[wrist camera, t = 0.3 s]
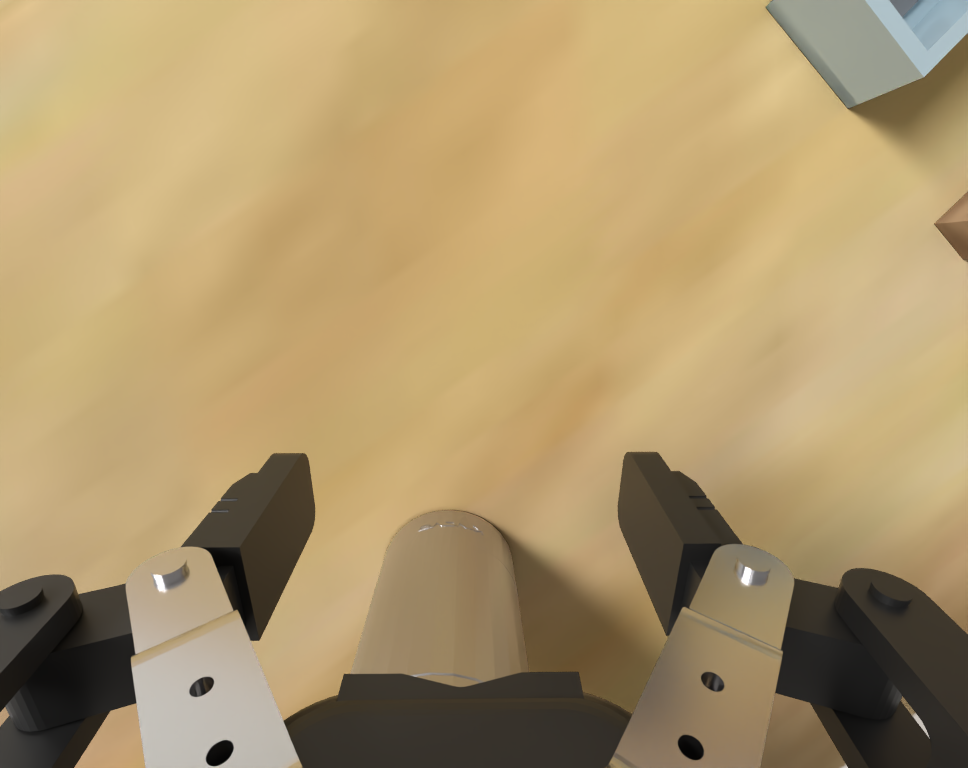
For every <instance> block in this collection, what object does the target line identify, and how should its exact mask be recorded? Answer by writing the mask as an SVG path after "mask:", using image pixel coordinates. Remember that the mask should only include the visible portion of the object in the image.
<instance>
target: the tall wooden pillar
mask: <svg viewBox="0 0 968 768" xmlns="http://www.w3.org/2000/svg"><path fill="white" fill-rule="evenodd" d="M935 225H936V227H937V228H938V229H939V230H940V231H941V233H942V234H943V235H944V236H945V238H946V239H947V240H948V241H949V242H950V244H951V245H952V246H953V247H954V249H955V250H956V251H957V252H958V253H959V255H960V256H961V257H962V258H963V259H968V192H967V193H966V194H965V195H964V196H963V197H962V198H961V199H960V200H959V201H958V202H957V203H956V204H955V205H954V206H952V207H951V208H950V209H949V210H948V211H947V212H946V213H945V214H944V215H943V216H942V217H941V218H940V219H939V220H938V221H937V222H936V223H935Z"/></svg>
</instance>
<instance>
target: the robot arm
mask: <svg viewBox="0 0 968 768" xmlns="http://www.w3.org/2000/svg"><path fill="white" fill-rule="evenodd" d="M618 519H619V525H620V528H621V531H622V533H623V536H624V538H625V540H626V543H627V545H628V547H629V550H630V552H631V554H632V557H633V559H634V561H635V564H636V566H637V568H638V571H639V573H640V575H641V578H642V580H643V582H644V585H645V587H646V589H647V592H648V594H649V596H650V599H651V601H652V603H653V606H654V608H655V610H656V613H657V615H658V617H659V620H660V622H661V624H662V627H663V629H664V631H665V634H666V636H669V637H668V639H667V641H666V644H665V646H664V648H663V650H662V652H661V654H660V657H659V659H658V661H657V663H656V665H655V667H654V669H653V672H652V674H651V676H650V678H649V680H648V682H647V684H646V687H645V689H644V691H643V693H642V695H641V697H640V700H639V702H638V704H637V706H636V708H635V710H634V712H633V715H632V714H631V713H629V712H627V711H626V710H624V709H623V708H621V707H619V706H617V705H615V704H613V703H611V702H609V701H607V700H605V699H602V698H599V697H597V696H594V695H591V694H587V693H583V691H582V686H581V682H580V677H579V672H529V667H528V660H527V653H526V647H525V640H524V633H523V627H522V620H521V613H520V607H519V600H518V592H517V586H516V579H515V573H514V567H513V560H512V554H511V552H510V549H509V546H508V544H507V542H506V541H505V539H504V538H503V536H502V535H501V533H500V532H499V531H498V530H497V529H496V528H495V527H494V526H493V525H492V524H490V523H489V522H487V521H485V520H484V519H482V518H480V517H478V516H476V515H473V514H470V513H467V512H462V511H456V510H442V511H435V512H431V513H427V514H424V515H421V516H419V517H417V518H415V519H413V520H411V521H410V522H409V523H407V524H406V525H404V526H403V527H402V528H401V529H400V530H399V531H398V532H397V533H396V535H395V536H394V537H393V538H392V540H391V542H390V544H389V546H388V548H387V550H386V554H385V557H384V561H383V564H382V567H381V571H380V574H379V578H378V581H377V584H376V587H375V590H374V594H373V597H372V601H371V604H370V608H369V611H368V614H367V618H366V621H365V625H364V628H363V632H362V635H361V639H360V642H359V646H358V649H357V653H356V656H355V659H354V663H353V666H352V670H351V673H350V674H344V676H343V680H342V683H341V687H340V691H339V694H338V695H337V696H333V697H329V698H327V699H324V700H321V701H319V702H316V703H314V704H312V705H310V706H308V707H306V708H304V709H302V710H300V711H298V712H297V713H295V714H293V715H292V716H290V717H289V718H287V719H286V720H284V721H283V719H282V717H281V714H280V712H279V709H278V707H277V704H276V702H275V700H274V697H273V695H272V692H271V690H270V687H269V685H268V682H267V680H266V678H265V675H264V673H263V670H262V668H261V665H260V663H259V660H258V658H257V656H256V653H255V651H254V648H253V646H252V643H251V641H259V640H260V638H261V636H262V634H263V632H264V630H265V628H266V626H267V624H268V622H269V620H270V618H271V615H272V613H273V611H274V609H275V607H276V605H277V603H278V601H279V599H280V597H281V595H282V593H283V590H284V588H285V586H286V584H287V582H288V580H289V578H290V576H291V574H292V572H293V570H294V568H295V565H296V563H297V561H298V559H299V557H300V555H301V553H302V551H303V549H304V547H305V545H306V543H307V540H308V538H309V536H310V534H311V532H312V529H313V526H314V521H315V502H314V495H313V488H312V481H311V474H310V466H309V460H308V457H307V455H306V454H304V453H275V454H272V455H271V456H270V458H269V459H268V460H267V462H266V463H265V464H264V466H263V467H262V468H261V469H260V471H259V472H258V473H250V474H248V475H247V476H245V477H244V478H242V479H241V480H239V481H237V482H236V483H234V484H233V485H232V486H231V487H230V488H229V489H228V490H227V492H226V493H225V494H224V495H223V497H222V498H221V501H218V503H217V504H216V505H215V506H214V507H213V509H212V512H211V513H208V515H207V516H206V517H205V518H204V520H203V521H202V522H201V523H200V524H199V526H198V527H197V528H196V529H195V530H194V532H193V533H192V534H191V535H190V536H189V538H188V539H187V540H186V541H185V542H184V544H183V545H182V546H181V547H180V548H176V549H171V550H168V551H165V552H163V553H160V554H158V555H156V556H154V557H152V558H150V559H148V560H147V561H145V562H144V563H142V564H141V565H139V566H138V567H137V568H136V569H135V570H134V571H133V572H132V573H131V575H130V576H129V578H128V579H127V582H126V584H122V585H118V586H114V587H109V588H105V589H100V590H96V591H91V592H87V593H82V594H78V593H77V590H76V587H75V585H74V582H73V580H72V579H71V578H69V577H67V576H64V575H44V576H39V577H35V578H31V579H28V580H25V581H22V582H19V583H17V584H15V585H12V586H10V587H8V588H6V589H4V590H2V591H0V712H1V711H2V710H3V708H4V707H6V709H7V711H8V713H9V715H10V716H9V717H8V718H7V719H6V721H5V722H4V723H3V724H2V725H1V727H0V768H74V767H75V765H76V764H77V762H78V761H79V759H80V758H81V756H82V754H83V753H84V751H85V750H86V748H87V747H88V745H89V743H90V742H91V740H92V739H93V737H94V736H95V734H96V733H97V731H98V729H99V728H100V726H101V725H102V723H103V722H104V720H105V718H106V717H107V715H108V714H109V712H110V711H111V710H114V709H118V708H121V707H125V706H128V705H132V704H135V703H137V710H138V717H139V724H140V731H141V738H142V746H143V753H144V760H145V767H146V768H760V766H761V761H762V756H763V751H764V746H765V741H766V736H767V731H768V725H769V720H770V715H771V710H772V705H773V700H774V695H775V693H777V694H781V695H785V696H788V697H792V698H795V699H799V700H803V701H806V702H810V704H811V705H812V707H813V709H814V710H815V712H816V714H817V716H818V717H819V719H820V721H821V722H822V724H823V726H824V727H825V729H826V731H827V733H828V734H829V736H830V738H831V739H832V741H833V743H834V744H835V746H836V748H837V749H838V751H839V753H840V755H841V756H842V758H843V760H844V761H845V763H846V765H847V766H848V768H968V634H967V633H966V632H965V631H963V630H962V629H961V628H960V627H959V626H958V625H957V624H956V623H955V622H954V621H953V620H952V619H951V618H950V617H949V616H948V615H947V614H946V613H945V612H944V611H943V610H942V609H941V608H940V607H939V606H938V605H937V604H936V603H934V602H933V601H932V600H931V599H930V598H929V597H928V596H927V595H926V594H925V593H924V592H922V591H921V590H919V589H918V588H917V587H915V586H913V585H912V584H910V583H908V582H906V581H904V580H903V579H900V578H898V577H896V576H894V575H891V574H888V573H885V572H881V571H878V570H873V569H865V568H856V569H851V570H849V571H847V572H845V573H844V575H843V576H842V579H841V582H840V585H839V588H835V587H831V586H826V585H821V584H817V583H812V582H807V581H803V580H798V579H795V578H794V577H793V575H792V573H791V571H790V570H789V568H788V567H787V566H786V565H785V564H784V563H783V562H782V561H780V560H779V559H778V558H776V557H775V556H773V555H772V554H770V553H768V552H766V551H764V550H761V549H759V548H756V547H752V546H748V545H743V544H742V542H741V541H740V540H739V538H738V537H737V536H736V534H735V533H734V532H733V531H732V529H731V528H730V527H729V525H728V524H727V523H726V521H725V520H724V519H723V517H722V516H721V515H720V513H719V512H718V511H717V510H715V507H714V505H713V504H712V503H711V501H710V500H709V499H707V498H706V495H705V493H704V492H703V491H702V489H701V488H700V487H699V486H698V484H697V483H696V482H695V481H693V480H692V479H690V478H689V477H687V476H686V475H684V474H683V473H681V472H680V471H671V470H670V469H669V467H668V466H667V465H666V463H665V462H664V460H663V459H662V457H661V456H660V455H659V453H657V452H627V453H626V454H625V456H624V460H623V468H622V476H621V484H620V492H619V500H618ZM902 696H903V697H904V698H905V700H906V701H907V702H908V703H909V705H910V706H911V707H912V709H913V710H914V711H915V712H916V714H917V715H918V716H919V718H920V719H921V720H922V722H923V724H924V726H925V728H926V730H927V732H928V735H929V737H930V739H929V737H928V736H927V735H926V734H925V732H924V731H923V730H922V728H921V727H920V726H919V724H918V723H917V722H916V721H915V719H914V718H913V717H912V715H911V714H910V713H909V711H908V710H907V709H906V708H905V706H904V705H903V704H902V702H901V701H900V700H901V698H902Z"/></svg>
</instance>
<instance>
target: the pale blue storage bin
mask: <svg viewBox="0 0 968 768" xmlns="http://www.w3.org/2000/svg"><path fill="white" fill-rule="evenodd" d="M766 8H767V10H768V11H769V12H770V13H771V15H772V16H773V17H774V18H775V19H776V21H777V22H778V23H779V24H780V26H781V27H782V28H783V29H784V30H785V32H786V33H787V34H788V35H789V37H790V38H791V39H792V40H793V42H794V43H795V44H796V45H797V46H798V48H799V49H800V50H801V51H802V53H803V54H804V55H805V56H806V58H807V59H808V60H809V61H810V62H811V64H812V65H813V66H814V67H815V69H816V70H817V71H818V72H819V74H820V75H821V76H822V77H823V78H824V80H825V81H826V82H827V83H828V85H829V86H830V87H831V88H832V89H833V91H834V92H835V93H836V94H837V96H838V97H839V98H840V99H841V101H842V102H843V103H844V104H845V105H846V107H847V108H851V107H853V106H856V105H858V104H860V103H863V102H865V101H868V100H870V99H873V98H875V97H877V96H880V95H882V94H885V93H887V92H889V91H892V90H894V89H897V88H899V87H902V86H904V85H906V84H909V83H911V82H914V81H916V80H918V79H921V78H923V77H925V76H926V75H927V74H928V73H929V72H930V71H931V70H932V69H933V68H934V67H935V65H936V64H937V63H938V62H939V61H940V60H941V59H942V58H943V57H944V56H945V55H946V54H947V53H948V52H949V51H950V50H951V49H952V48H953V47H954V46H955V45H956V44H957V43H958V42H959V41H960V40H961V39H962V38H963V37H964V36H965V35H966V34H967V33H968V0H772V1H771V2H770V3H769V4H768V5H767V6H766Z"/></svg>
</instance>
